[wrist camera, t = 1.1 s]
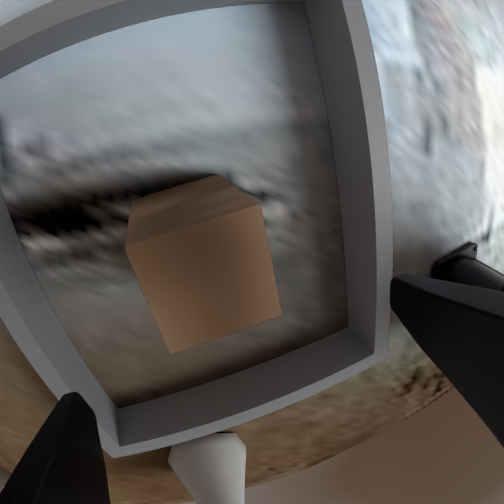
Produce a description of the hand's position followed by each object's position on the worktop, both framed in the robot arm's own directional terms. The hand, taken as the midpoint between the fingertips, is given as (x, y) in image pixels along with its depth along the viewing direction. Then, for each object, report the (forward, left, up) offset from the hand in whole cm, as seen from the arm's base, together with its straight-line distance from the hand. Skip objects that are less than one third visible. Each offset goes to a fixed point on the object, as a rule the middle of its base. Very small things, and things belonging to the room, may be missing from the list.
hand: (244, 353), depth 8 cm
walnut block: (0, 0, -10) cm, 10 cm away
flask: (+5, +20, -10) cm, 23 cm away
